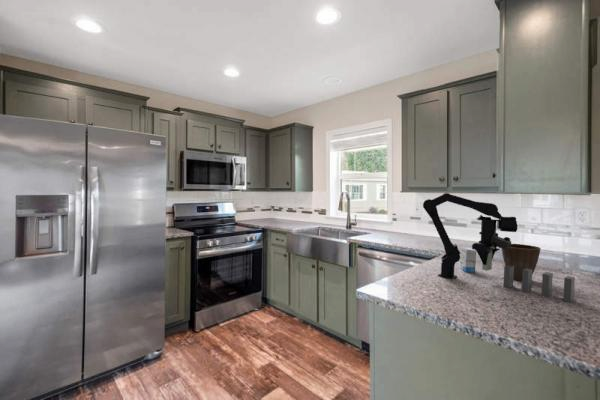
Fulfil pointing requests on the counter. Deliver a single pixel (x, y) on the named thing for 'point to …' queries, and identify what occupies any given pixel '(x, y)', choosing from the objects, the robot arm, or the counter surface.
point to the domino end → (569, 289)
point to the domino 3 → (547, 284)
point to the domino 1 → (508, 276)
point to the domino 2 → (527, 280)
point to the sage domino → (488, 263)
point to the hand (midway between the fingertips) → (487, 264)
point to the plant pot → (521, 258)
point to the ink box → (468, 259)
